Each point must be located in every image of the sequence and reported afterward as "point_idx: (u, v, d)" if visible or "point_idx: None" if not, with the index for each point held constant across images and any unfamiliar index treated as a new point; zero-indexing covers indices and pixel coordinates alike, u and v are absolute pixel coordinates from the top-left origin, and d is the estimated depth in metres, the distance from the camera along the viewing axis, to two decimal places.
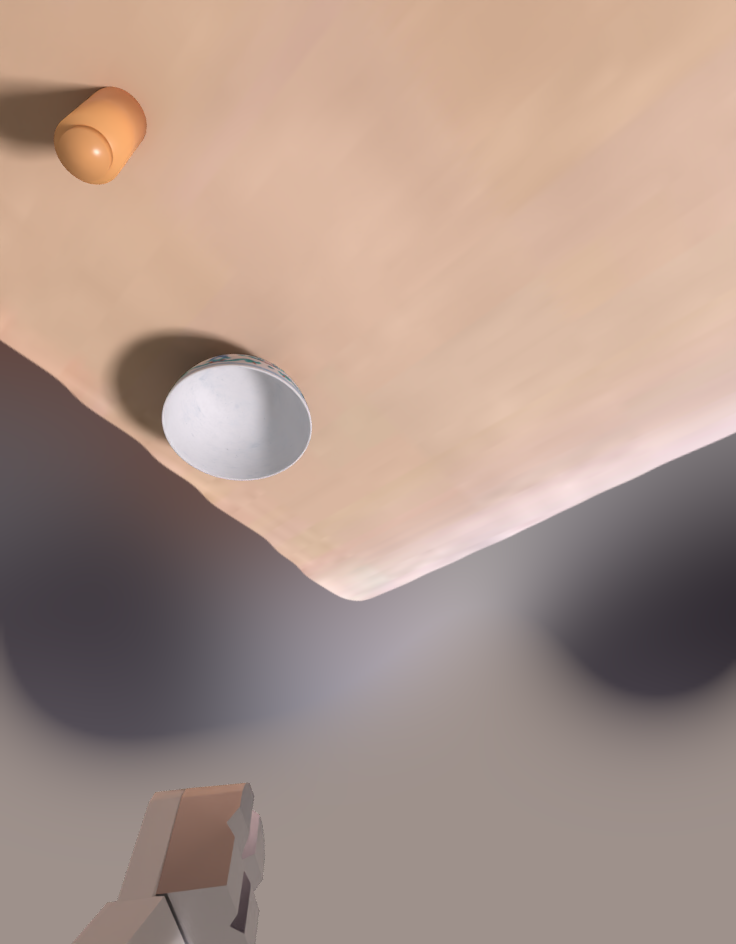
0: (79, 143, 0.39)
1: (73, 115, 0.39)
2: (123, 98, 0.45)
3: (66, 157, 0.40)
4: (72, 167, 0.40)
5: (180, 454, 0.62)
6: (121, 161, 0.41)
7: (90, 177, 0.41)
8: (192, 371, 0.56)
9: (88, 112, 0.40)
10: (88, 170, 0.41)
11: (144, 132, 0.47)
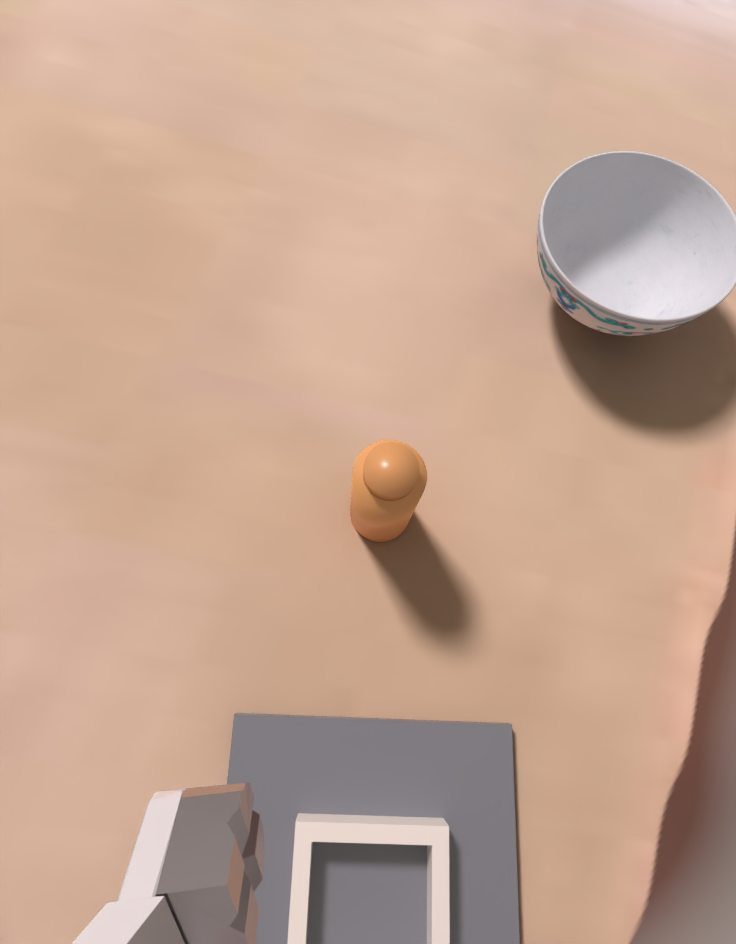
0: (381, 475, 0.33)
1: (362, 497, 0.34)
2: None
3: (404, 484, 0.33)
4: (411, 476, 0.33)
5: (734, 279, 0.42)
6: (382, 441, 0.35)
7: (411, 456, 0.34)
8: (598, 309, 0.41)
9: (354, 490, 0.35)
10: (404, 459, 0.34)
11: None
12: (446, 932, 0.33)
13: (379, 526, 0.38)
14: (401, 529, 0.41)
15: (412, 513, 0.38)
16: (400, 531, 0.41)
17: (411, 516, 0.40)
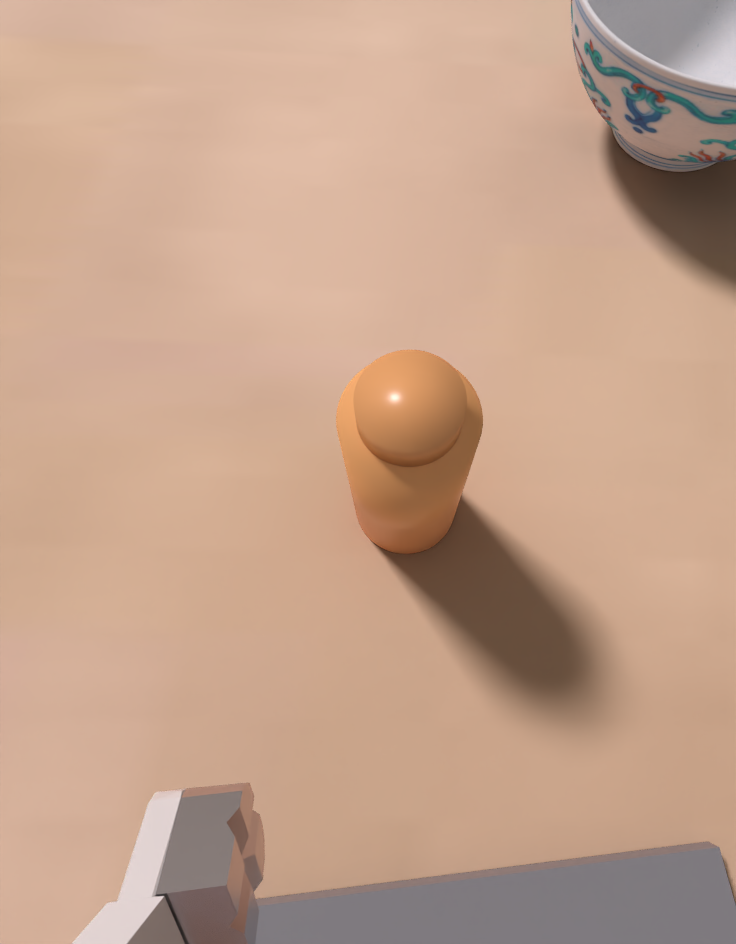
0: (391, 415, 0.16)
1: (362, 469, 0.17)
2: None
3: (441, 425, 0.16)
4: (452, 406, 0.16)
5: None
6: None
7: (445, 369, 0.17)
8: (709, 96, 0.24)
9: (347, 461, 0.18)
10: (432, 377, 0.17)
11: None
12: None
13: (407, 524, 0.21)
14: (446, 525, 0.23)
15: (462, 491, 0.21)
16: (445, 529, 0.24)
17: None
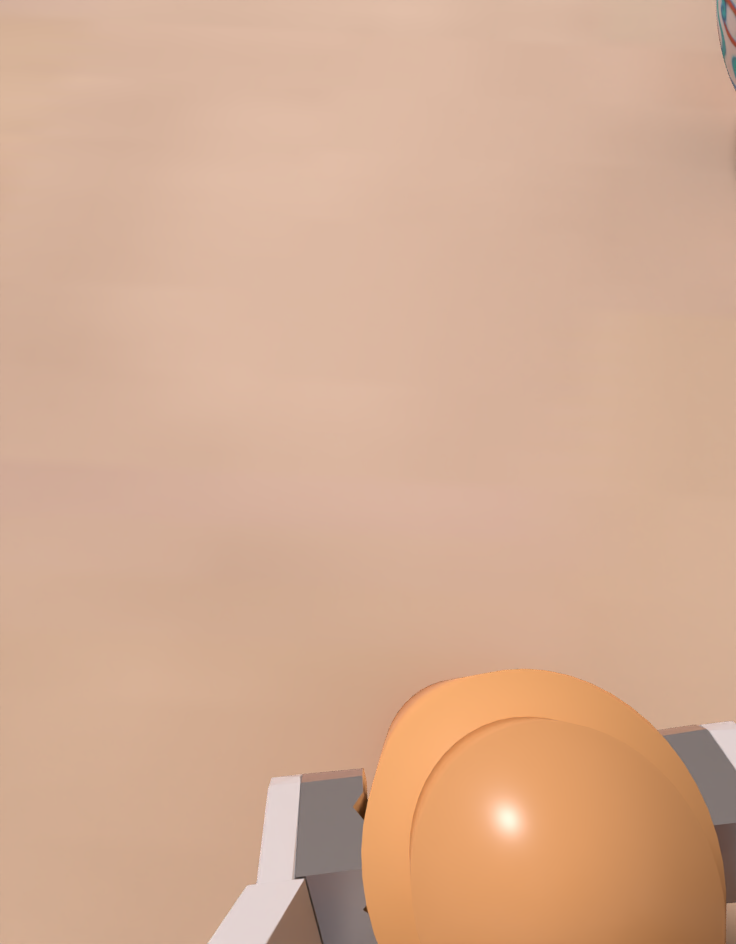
0: None
1: None
2: None
3: None
4: (686, 921, 0.06)
5: None
6: (466, 683, 0.08)
7: (651, 789, 0.06)
8: None
9: None
10: (621, 817, 0.06)
11: None
12: None
13: None
14: None
15: None
16: None
17: None
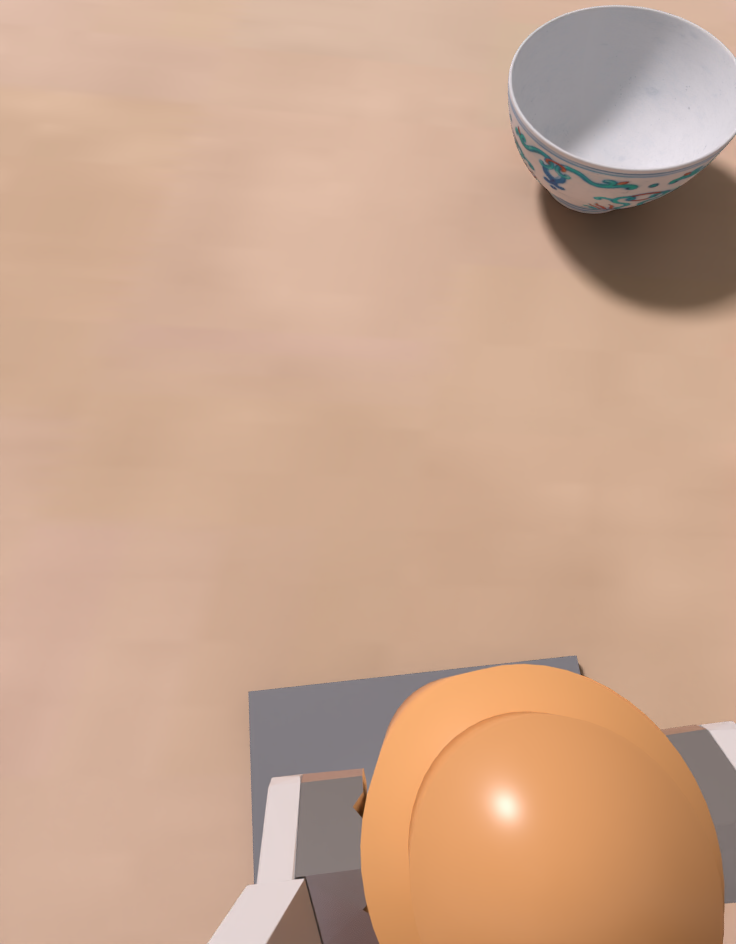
0: (516, 938, 0.06)
1: None
2: None
3: None
4: (685, 914, 0.06)
5: None
6: (465, 678, 0.08)
7: (649, 783, 0.06)
8: (592, 171, 0.36)
9: None
10: (620, 810, 0.06)
11: None
12: None
13: None
14: None
15: None
16: None
17: None
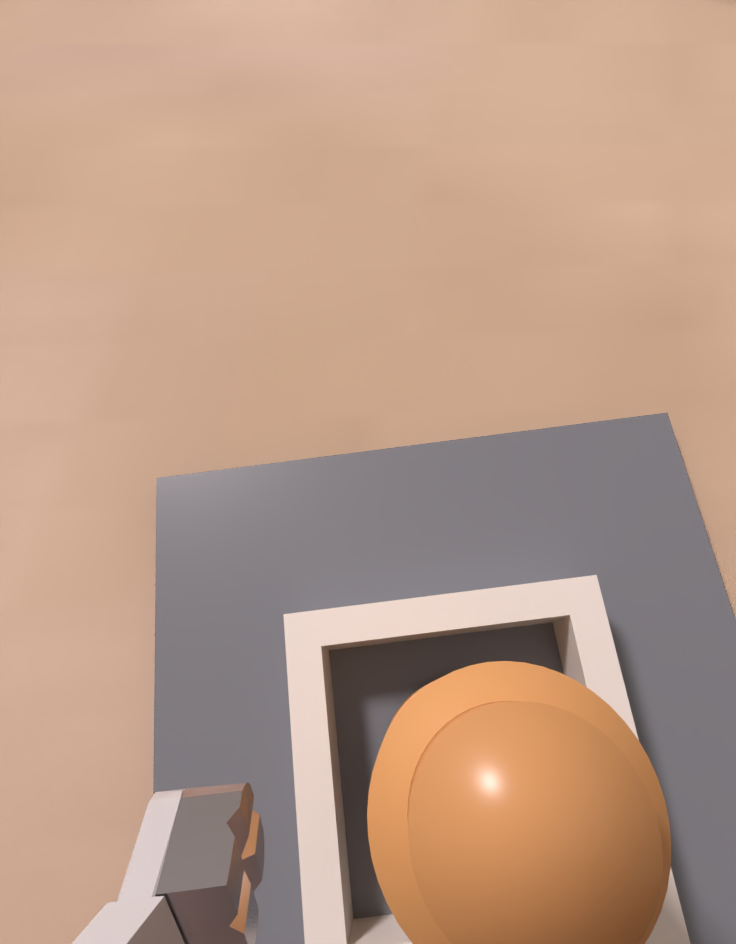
0: (495, 881, 0.07)
1: None
2: None
3: (609, 914, 0.07)
4: (631, 861, 0.07)
5: None
6: (456, 673, 0.09)
7: (605, 756, 0.08)
8: None
9: None
10: (580, 778, 0.08)
11: None
12: None
13: None
14: None
15: None
16: None
17: None
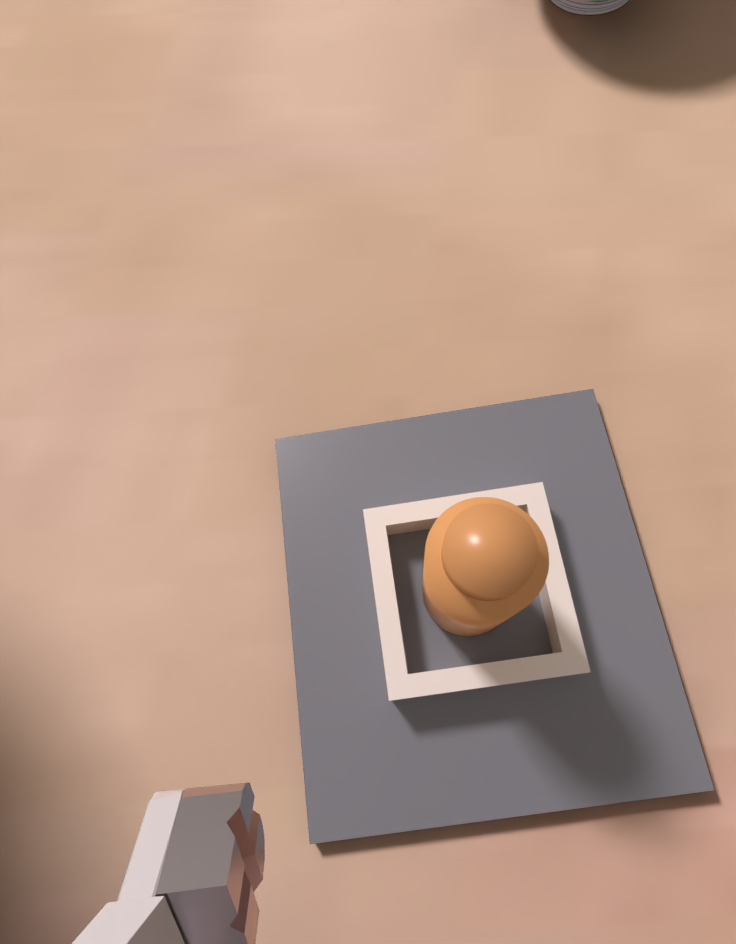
0: (475, 563, 0.20)
1: (449, 602, 0.21)
2: None
3: (517, 572, 0.20)
4: (526, 555, 0.20)
5: None
6: (461, 502, 0.22)
7: (518, 521, 0.20)
8: None
9: (433, 589, 0.22)
10: (508, 529, 0.20)
11: None
12: (565, 587, 0.27)
13: (478, 628, 0.24)
14: None
15: None
16: None
17: None
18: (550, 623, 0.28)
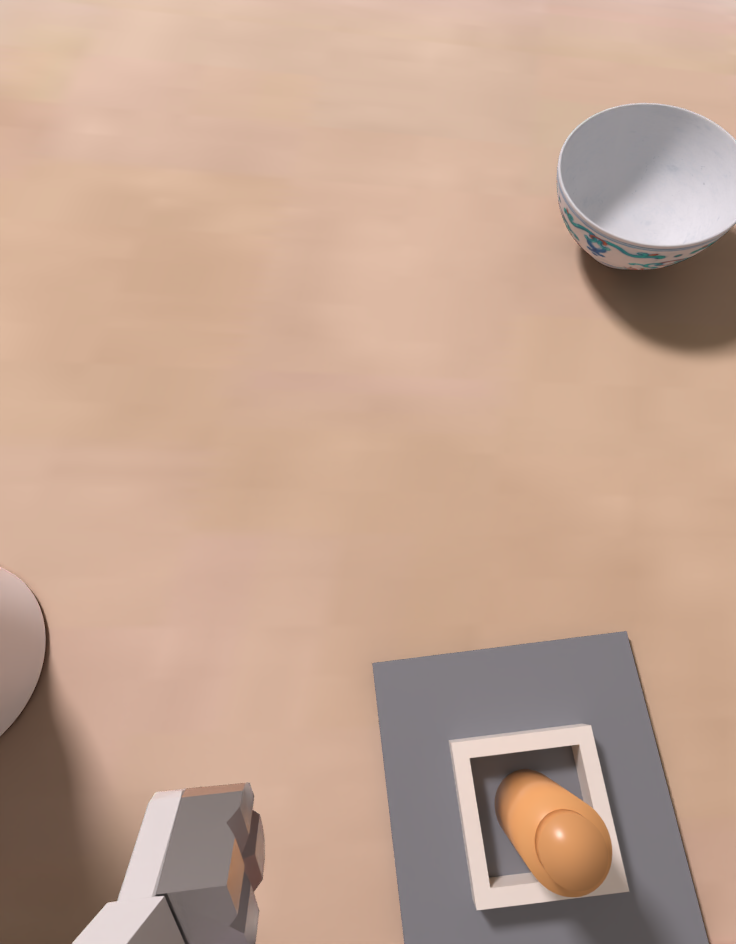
0: (563, 863, 0.28)
1: (540, 882, 0.29)
2: (499, 814, 0.36)
3: (593, 873, 0.28)
4: (599, 859, 0.28)
5: None
6: (548, 798, 0.30)
7: (593, 831, 0.28)
8: (629, 246, 0.45)
9: (526, 863, 0.30)
10: (587, 837, 0.28)
11: (518, 772, 0.38)
12: (609, 818, 0.36)
13: None
14: None
15: None
16: None
17: None
18: None
